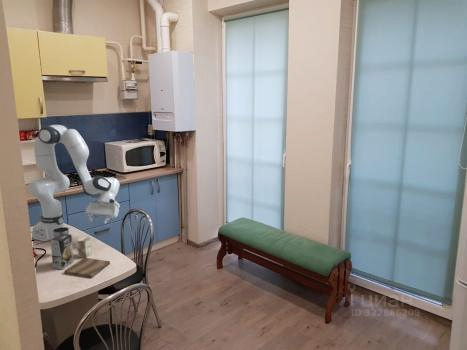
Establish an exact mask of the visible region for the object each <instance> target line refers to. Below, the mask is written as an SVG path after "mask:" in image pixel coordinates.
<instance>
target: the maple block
mask: <svg viewBox="0 0 467 350" xmlns="http://www.w3.org/2000/svg"><path fill="white" fill-rule="evenodd" d="M76 243H77V252H78V253H77V254H78V258H81V259H83V258H89V257H90V256H92V240H91V237H87V236H86V237H85V236H83V237H81V238H79V239H77V240H76Z"/></svg>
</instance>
